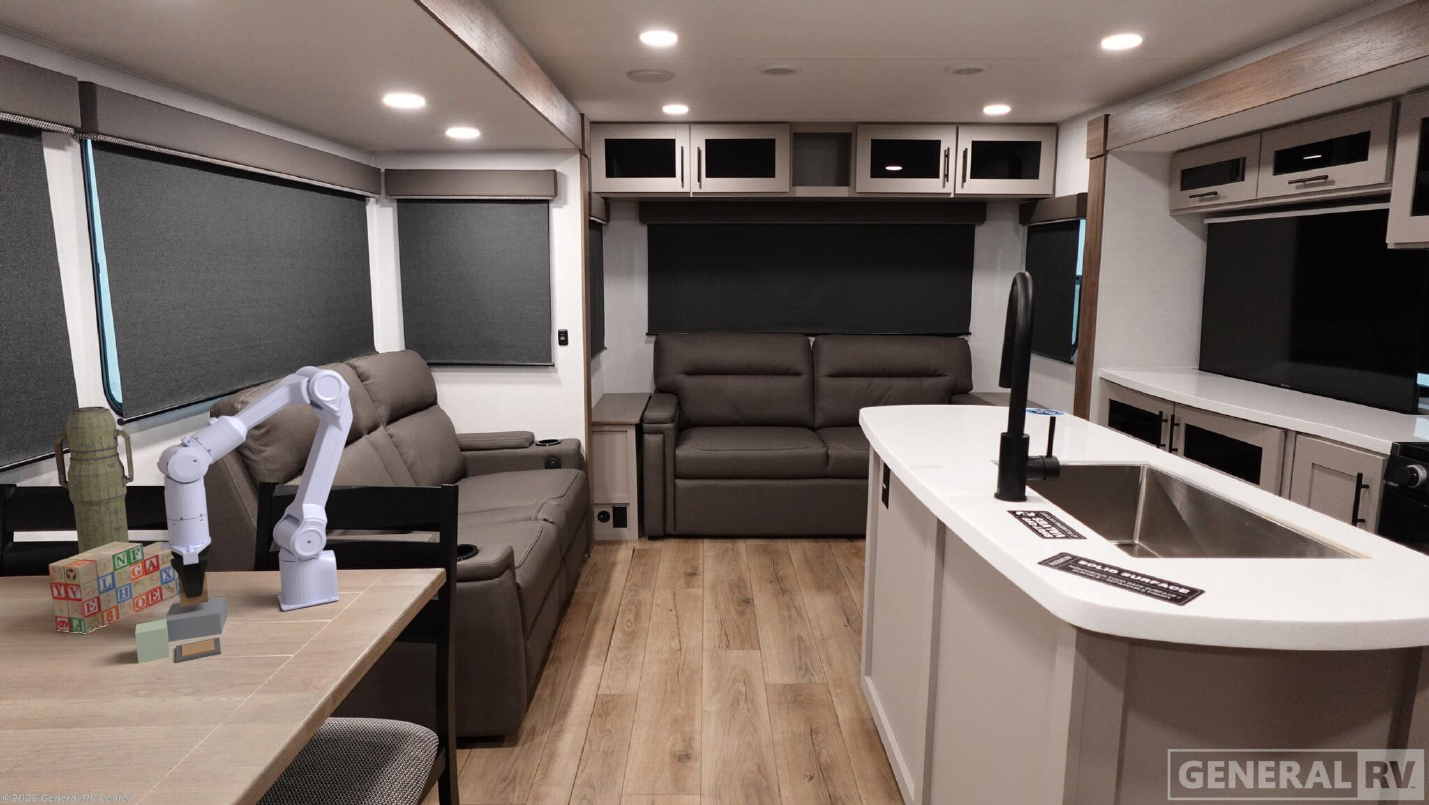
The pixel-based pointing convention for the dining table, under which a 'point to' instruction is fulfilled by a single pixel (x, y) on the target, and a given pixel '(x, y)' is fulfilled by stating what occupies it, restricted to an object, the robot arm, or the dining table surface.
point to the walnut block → (194, 600)
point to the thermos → (95, 476)
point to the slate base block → (196, 619)
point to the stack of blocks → (110, 584)
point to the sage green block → (152, 641)
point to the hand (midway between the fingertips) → (194, 592)
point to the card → (198, 649)
